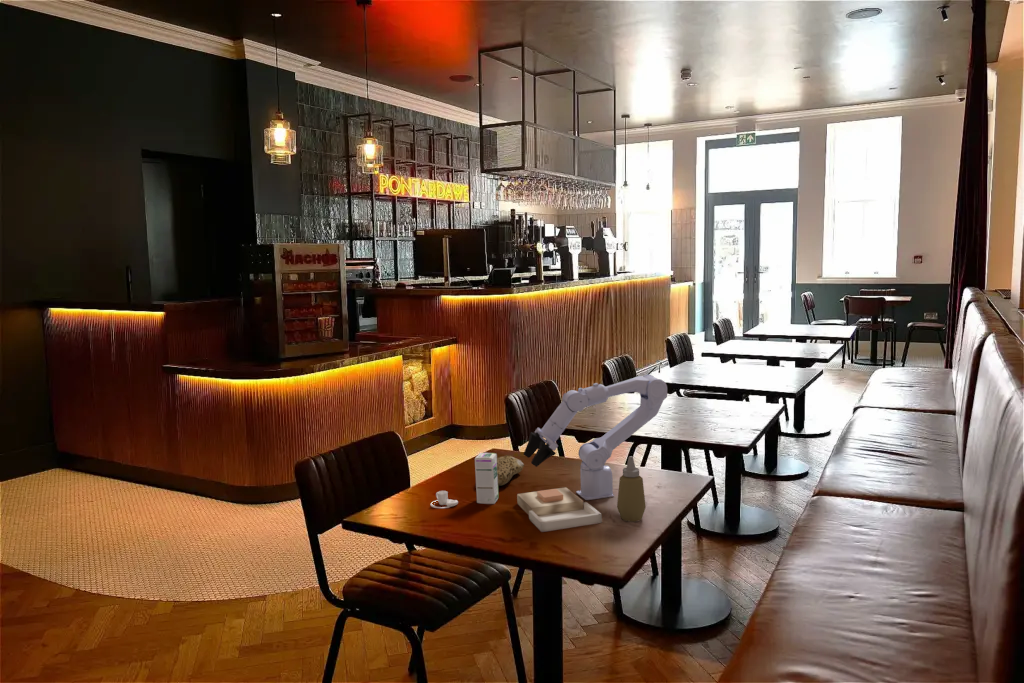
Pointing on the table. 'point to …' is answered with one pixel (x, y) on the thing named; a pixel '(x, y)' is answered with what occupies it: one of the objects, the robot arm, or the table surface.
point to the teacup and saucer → (444, 500)
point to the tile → (550, 495)
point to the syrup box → (486, 478)
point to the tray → (566, 519)
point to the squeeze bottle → (631, 493)
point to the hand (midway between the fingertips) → (529, 460)
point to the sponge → (507, 468)
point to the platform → (549, 503)
